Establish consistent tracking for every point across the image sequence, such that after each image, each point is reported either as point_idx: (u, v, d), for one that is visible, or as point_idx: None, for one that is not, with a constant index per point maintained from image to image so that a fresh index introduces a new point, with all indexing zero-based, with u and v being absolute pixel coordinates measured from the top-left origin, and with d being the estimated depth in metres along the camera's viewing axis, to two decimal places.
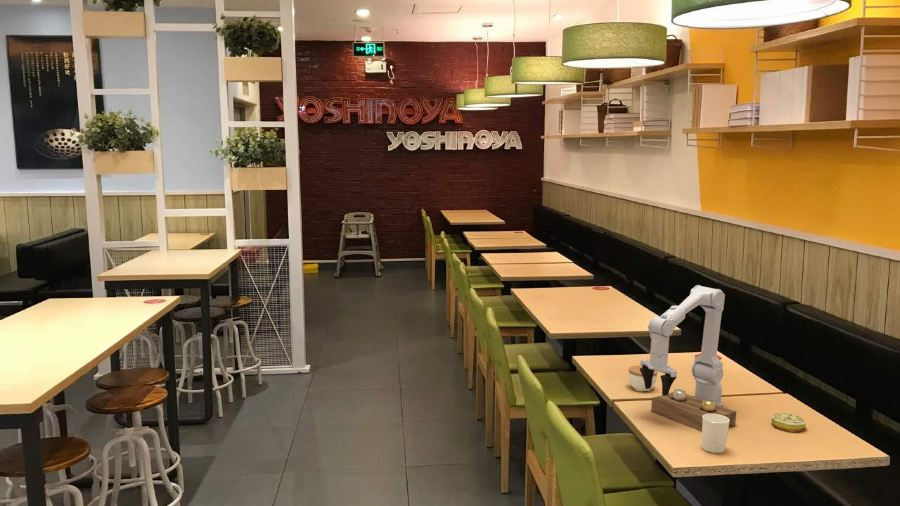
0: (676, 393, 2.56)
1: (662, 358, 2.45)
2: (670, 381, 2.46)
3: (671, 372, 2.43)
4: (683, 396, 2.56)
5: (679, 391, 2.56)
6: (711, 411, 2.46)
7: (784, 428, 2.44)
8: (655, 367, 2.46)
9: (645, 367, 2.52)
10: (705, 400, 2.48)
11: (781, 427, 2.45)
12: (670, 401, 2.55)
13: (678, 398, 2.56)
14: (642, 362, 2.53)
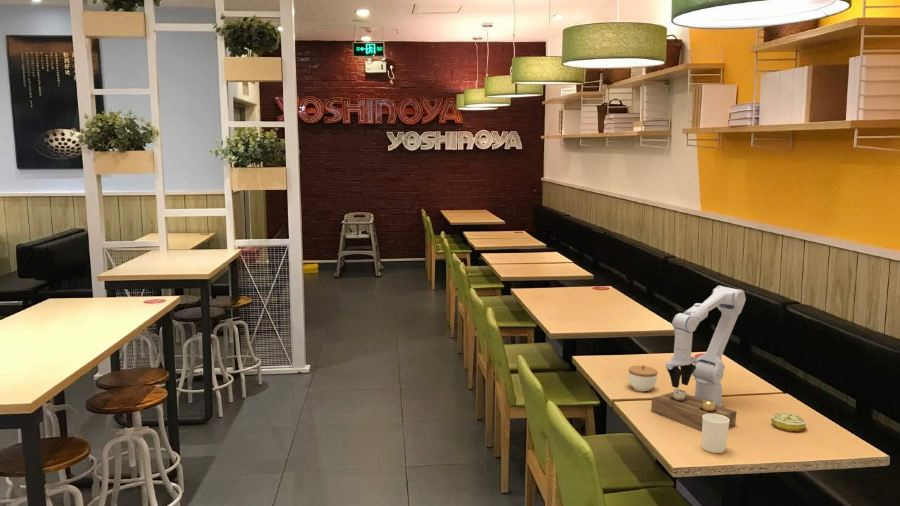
0: (676, 393, 2.56)
1: (675, 351, 2.54)
2: None
3: None
4: (683, 396, 2.56)
5: (679, 391, 2.56)
6: (711, 411, 2.46)
7: (784, 428, 2.44)
8: None
9: None
10: (705, 400, 2.48)
11: (781, 427, 2.45)
12: (670, 401, 2.55)
13: (678, 398, 2.56)
14: None
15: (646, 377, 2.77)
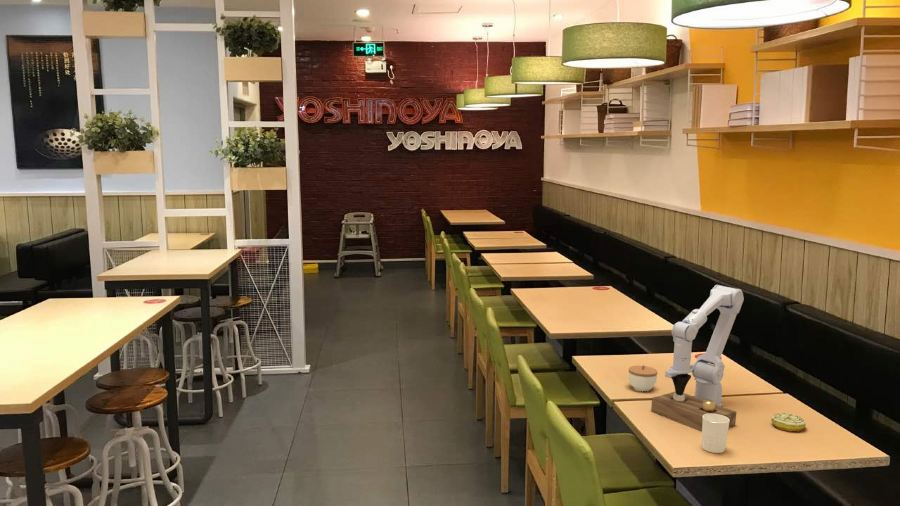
0: (676, 396, 2.56)
1: (674, 359, 2.55)
2: None
3: None
4: (683, 399, 2.56)
5: None
6: (711, 411, 2.46)
7: (784, 428, 2.44)
8: (672, 367, 2.58)
9: None
10: (705, 400, 2.48)
11: (781, 427, 2.45)
12: (670, 401, 2.55)
13: (678, 401, 2.56)
14: None
15: (646, 377, 2.77)
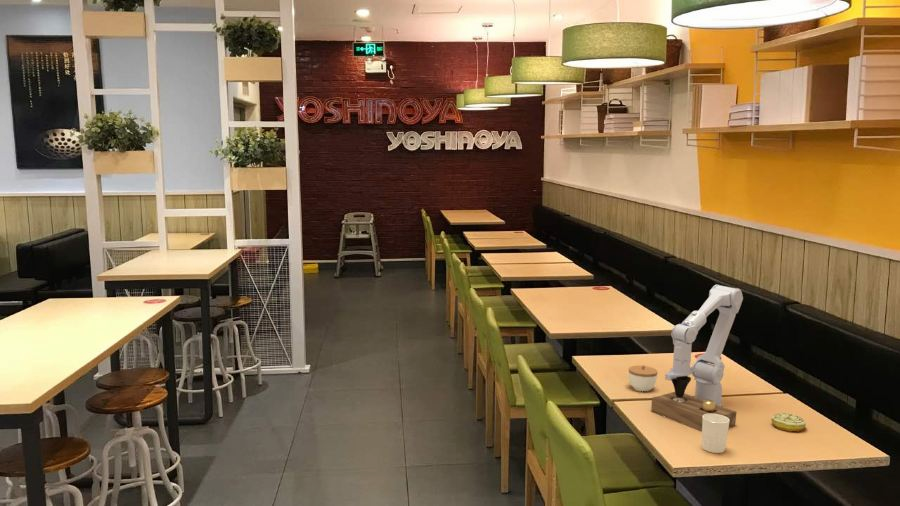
0: None
1: (674, 362, 2.55)
2: None
3: None
4: None
5: (678, 400, 2.57)
6: (711, 411, 2.46)
7: (784, 428, 2.44)
8: (672, 369, 2.58)
9: None
10: (705, 400, 2.48)
11: (781, 427, 2.45)
12: (670, 401, 2.55)
13: None
14: None
15: (646, 377, 2.77)
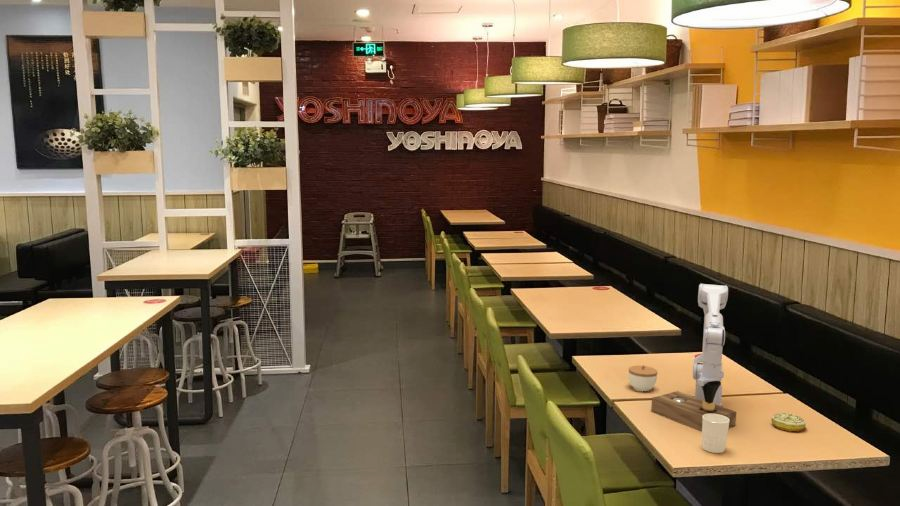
0: None
1: (705, 366, 2.45)
2: None
3: None
4: None
5: (678, 400, 2.57)
6: (711, 411, 2.46)
7: (784, 428, 2.44)
8: (701, 374, 2.47)
9: None
10: None
11: (781, 427, 2.45)
12: (670, 401, 2.55)
13: None
14: None
15: (646, 377, 2.77)
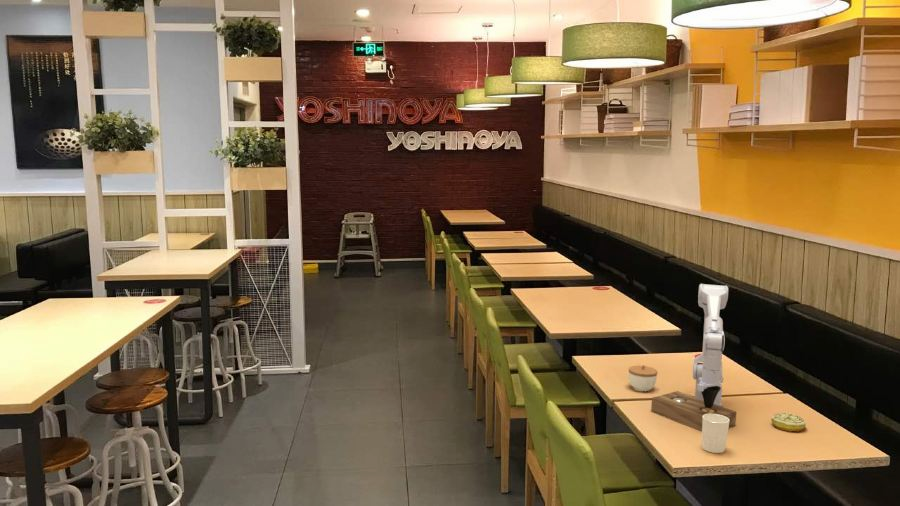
0: None
1: (704, 371, 2.45)
2: None
3: None
4: None
5: (678, 400, 2.57)
6: None
7: (784, 428, 2.44)
8: (701, 379, 2.48)
9: None
10: (704, 409, 2.49)
11: (781, 427, 2.45)
12: (670, 401, 2.55)
13: None
14: None
15: (646, 377, 2.77)
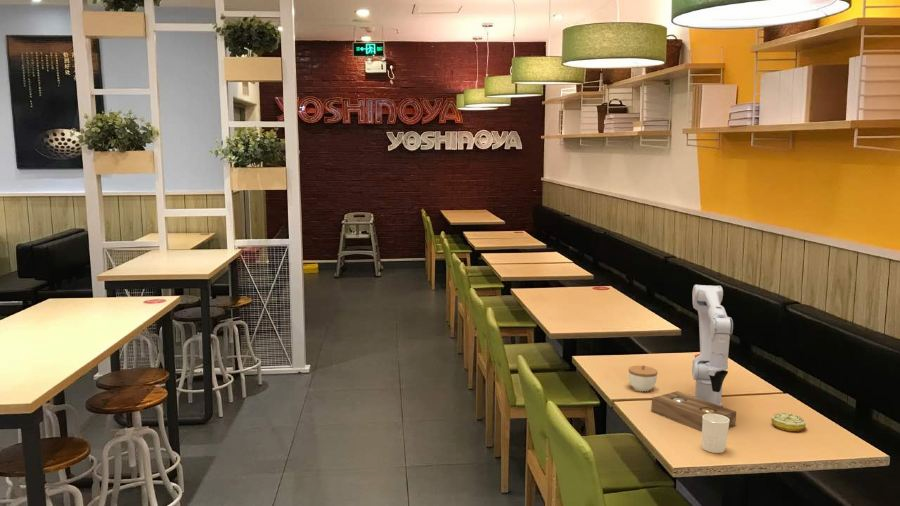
0: None
1: (713, 356, 2.47)
2: (719, 379, 2.48)
3: None
4: None
5: (678, 400, 2.57)
6: None
7: (784, 428, 2.44)
8: (709, 364, 2.50)
9: None
10: (704, 409, 2.49)
11: (781, 427, 2.45)
12: (670, 401, 2.55)
13: None
14: None
15: (646, 377, 2.77)
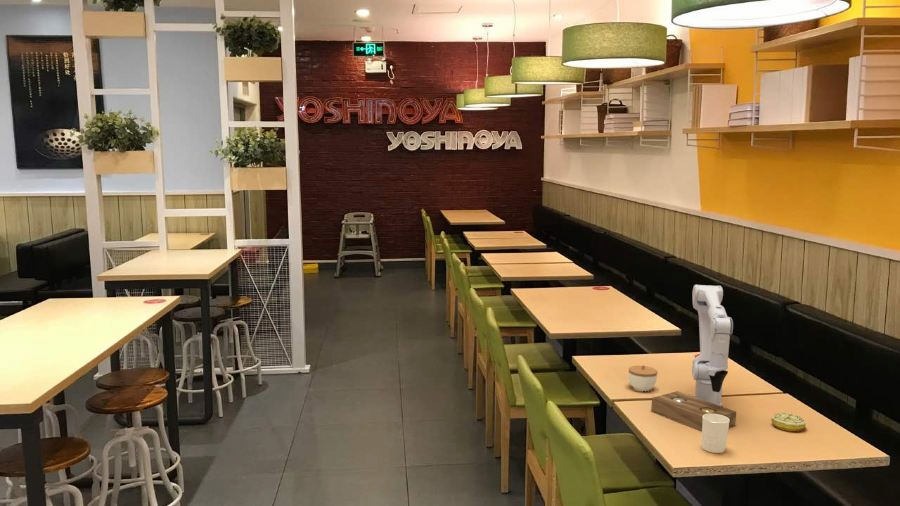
0: None
1: (713, 356, 2.47)
2: (719, 379, 2.48)
3: None
4: None
5: (678, 400, 2.57)
6: None
7: (784, 428, 2.44)
8: (709, 364, 2.50)
9: None
10: (704, 409, 2.49)
11: (781, 427, 2.45)
12: (670, 401, 2.55)
13: None
14: None
15: (646, 377, 2.77)
